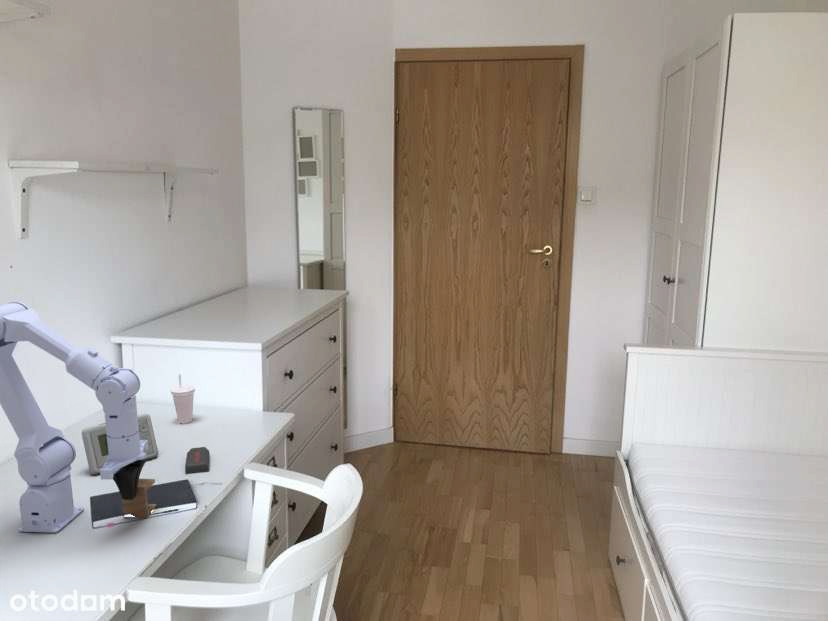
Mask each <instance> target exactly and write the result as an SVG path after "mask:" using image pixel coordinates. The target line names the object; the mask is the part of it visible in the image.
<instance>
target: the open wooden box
mask: <svg viewBox="0 0 828 621" xmlns="http://www.w3.org/2000/svg"><path fill="white" fill-rule="evenodd" d="M154 484H156V479H155V478H139V480H138V486H137V492H136V497H135V498H134V499H133V500H123V499H122V496H121V495H120V500H121V510H122V514H123V513H124V514H131V515H133V516H135V517H137V518H136V519H148V518H149V517H150V516H151V515H152V514H151V511H152V510H153V509H154V507H156V505H157V506H158V504H156V503H148V502H149V501H148V490H149V489H150V488H151V487H152V486H153V485H154Z"/></svg>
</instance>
